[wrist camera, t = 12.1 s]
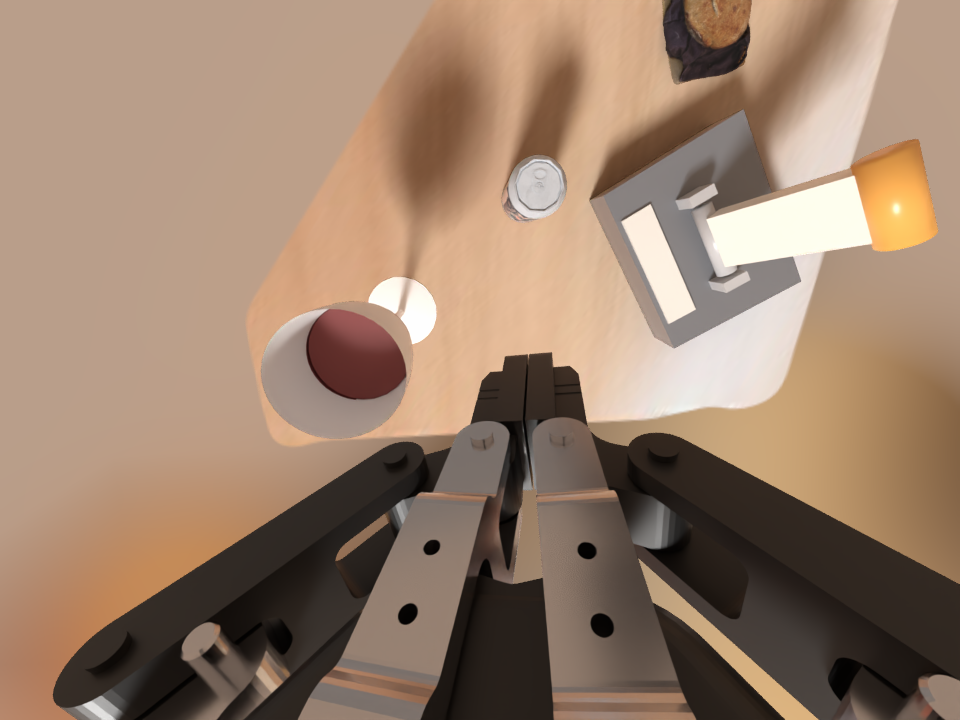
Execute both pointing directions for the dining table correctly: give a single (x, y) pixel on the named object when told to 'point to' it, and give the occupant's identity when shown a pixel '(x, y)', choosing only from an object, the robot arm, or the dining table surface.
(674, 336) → the block
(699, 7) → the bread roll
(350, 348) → the wineglass
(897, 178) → the breaker lever
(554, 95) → the dining table surface
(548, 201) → the beer can
